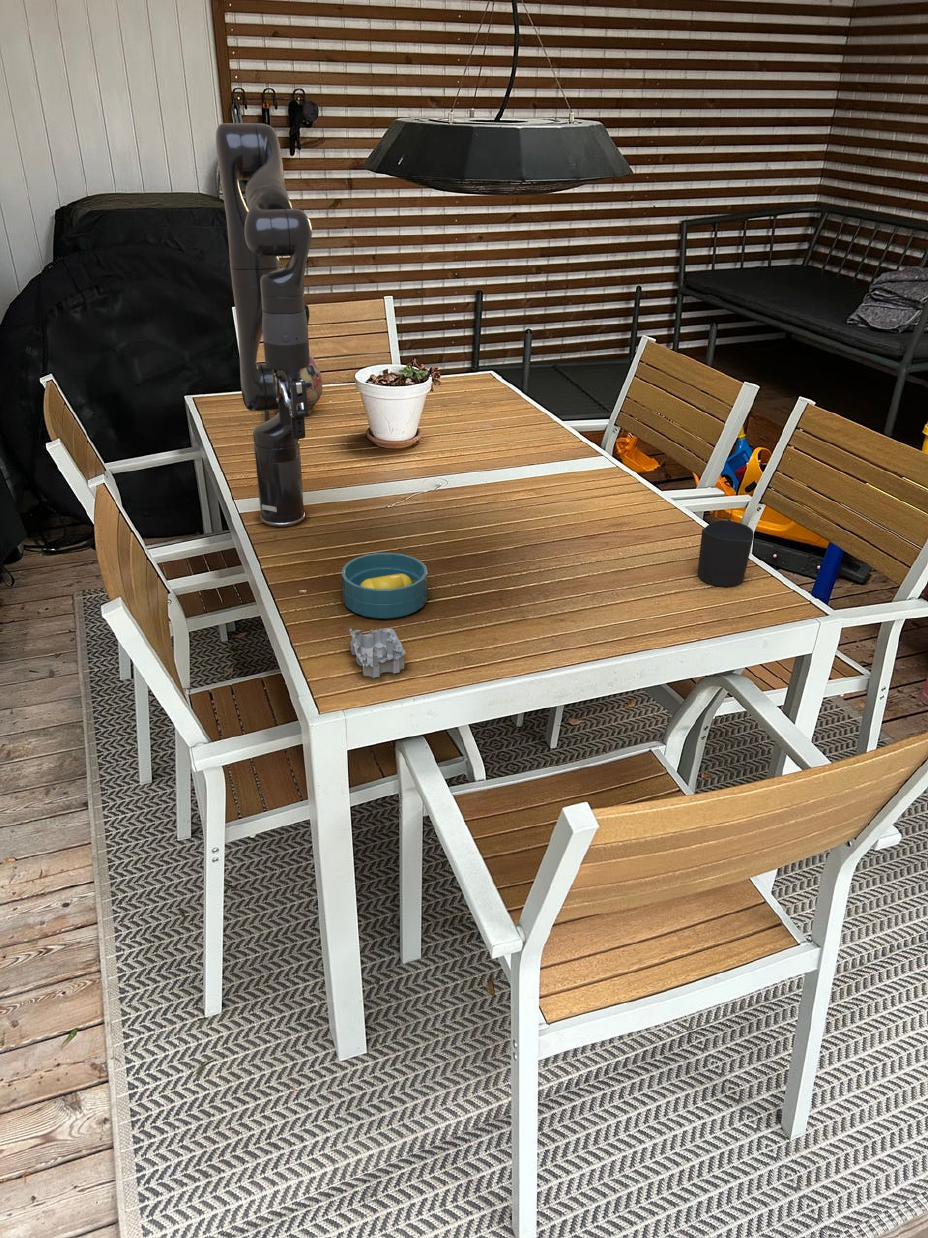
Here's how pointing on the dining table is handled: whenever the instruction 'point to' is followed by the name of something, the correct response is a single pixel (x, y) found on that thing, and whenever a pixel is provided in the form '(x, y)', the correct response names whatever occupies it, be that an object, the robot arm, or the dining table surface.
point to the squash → (388, 582)
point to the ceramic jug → (311, 378)
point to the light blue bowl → (384, 600)
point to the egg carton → (377, 651)
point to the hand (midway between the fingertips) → (292, 431)
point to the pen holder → (724, 553)
